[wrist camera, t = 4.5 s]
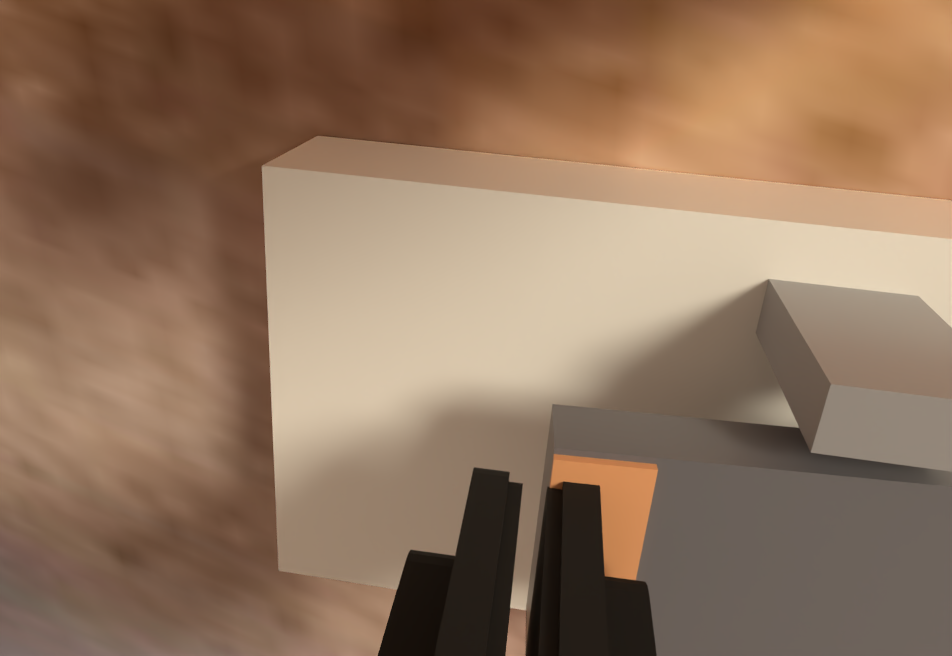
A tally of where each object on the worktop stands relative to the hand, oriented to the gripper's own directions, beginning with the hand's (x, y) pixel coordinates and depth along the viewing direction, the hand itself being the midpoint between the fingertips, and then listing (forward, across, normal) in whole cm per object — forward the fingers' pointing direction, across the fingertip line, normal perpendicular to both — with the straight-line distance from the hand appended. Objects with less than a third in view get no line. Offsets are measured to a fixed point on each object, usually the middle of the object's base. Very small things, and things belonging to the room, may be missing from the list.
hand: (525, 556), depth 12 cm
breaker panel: (+6, -5, 0) cm, 8 cm away
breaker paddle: (+1, -5, 0) cm, 5 cm away
